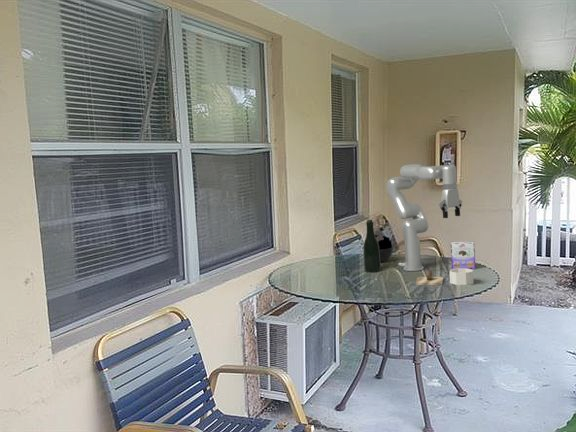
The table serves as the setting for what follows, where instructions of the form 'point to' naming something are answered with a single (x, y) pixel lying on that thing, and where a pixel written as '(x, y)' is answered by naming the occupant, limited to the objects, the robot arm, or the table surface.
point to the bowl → (461, 276)
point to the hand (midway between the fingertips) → (451, 217)
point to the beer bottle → (371, 250)
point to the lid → (429, 279)
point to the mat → (430, 285)
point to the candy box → (463, 255)
